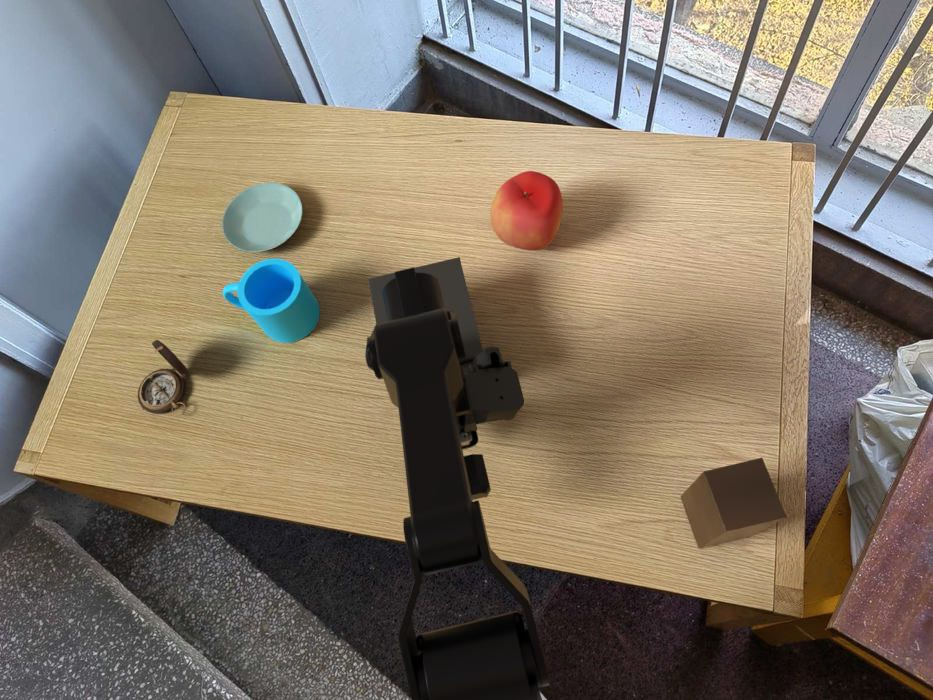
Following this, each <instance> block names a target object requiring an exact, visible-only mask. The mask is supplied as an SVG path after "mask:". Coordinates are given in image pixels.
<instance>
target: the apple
mask: <svg viewBox="0 0 933 700" xmlns="http://www.w3.org/2000/svg"><path fill="white" fill-rule="evenodd" d="M563 204H564V201H563V196H562V192H561V188H560V186H559V185H558V183H557V182H556V180H554V179H553V178H552V177H551V176H548V175H547V174H544V173H542V172H539V171H534V170H526V171H523V172H520V173H518V174H516V175H514V176H512V177H511V178H509V179H507V180H506V181H505V182H504V183H503V184H502V185H500V186H499V188H498V189H497V191H496V193H495V195H494V197H493V199H492V201H491V205H490V211H489V212H490V215H489V216H490V223H491V227H492V230H493V232H494V234H495V235H496V236H497V237H498V239H499V240H500V241H501V242H503V243H504V244H506V245H507V246H510V247H513V248H515V249H519V250H523V251H540V250H543V249H546V248H547V247H548V246H549V245H550V244H551V243H552V242H553V240H554V239H555V237H556V235H557V234H558V231H559V228H560V226H561V225H560V224H561V221H562V216H563V210H564V209H563V208H564V205H563Z"/></svg>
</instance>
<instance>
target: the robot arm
mask: <svg viewBox="0 0 933 700" xmlns="http://www.w3.org/2000/svg"><path fill="white" fill-rule="evenodd" d="M414 268H415V267H414V266H413V267H409V268H404V269H401V270H396V271H394V272H395V277H396V278H394V279H392V280H391V281H389V282H388V283H387V284H386V285H385V286H384V288H383V290H382V294H383V299H384V305H385V310H386V315H387V320H388V321H386V322H382V323H379V324H376V323H375V325H374V327H373V330H372V332H371V334H370V336H367V338H366V345H365V346H366V347H365V354H364V357H365V361H366V366H367V368H368V369H370V370H371V371H373V373H374V376H375V378H377V379H378V381H379V380H383V382H384V385H385V388H386V391H387V393H388V396H389V399H390V401H391V404H393V405H394V406H395V407H397V408H398V415H399V424H400V434H401V442H402V451H403V459H404V469H405V477H406V478H405V479H406V485H407V486H406V487H407V496H408V497H407V498H408V505H409V513H410V514H409V515H410V516H407V517H403V522H402V526H403V527H402V528H403V536H404V542H405V547H406V551H407V557H408V561H409V565H410V570H411V574H412V579H413V581H412V585H411V587H410V591H409V595H408V598H407V601H406V605H405V608H404V611H403V615H402V618H401V621H400V624H399V629H398V633H397V639H398V644H399V648H400V649H399V650H400V653H401V657H402V662H403V666H404V671H405V675H406V679H407V684H408V688H409V692H410V696H411V700H543V699H542V695H541V690H540V688H544V687H545V688H546V687H548V686H550V681H549V677H548V672H547V667H546V664H545V663H546V662H545V659H544V655H543V650H542V646H541V643H540V642H541V641H540V637H539V633H538V630H537V625H536V621H535V616H534V612H533V609H532V605H531V600H530V597H529V593H528V589H527V587H526V585H525V584H524V583H523V581H522V580H521V579H519V577H518V575H516V574H515V573H514V572H513V571H512V570H511V569H510V568H509V566H508V565H507V564H506V563H505V562H504V561H503V559H501V558H500V557H499V556H498V555H497V554H496V552H494V550H492V548H491V545H490V541H489V536H488V533H487V528H486V523H485V519H484V515H483V511H482V508H481V503H480V501H479V500H480V499H483V498H486V497H488V496H489V494H490V493H491V491H492V488H491V485H490V479H489V475H488V471H487V467H486V462H485V458H484V455H483V454H480V453H471V454H468V455H464V450H467V449H470V448H473V447H474V446H476V445H477V444H478V442H479V437H478V432H477V431H478V428H477V425H481V424H484V423H492V422H493V423H494V422H502V421H506V422H508V421H511V420H514V418H515V417H516V416H517V415H518V413H519V412H520V411H521V410H522V408H523V407H524V405H525V396H524V393H523V390H522V386H521V381H520V378H519V374H518V372H517V370H515V368H513V365H512V362H511V360H505V359H504V358H503V354H502V352H501V349H500V347H498V346H496V347H495V346H493V347H486V348H485V349H483V351H482V352H480V353H479V354H477V355H476V356H475V358H474V360H473V364H471V365H469V366H468V369H469V374H465V375H464V371H463V368H462V367H461V368H460V364H461V360H464V359H466V354H465V350H464V346H463V342H462V337H461V333H460V329H459V325H458V320H457V316H456V312H455V310H451V311H446V310H445V306H444V302H443V298H442V293H441V289H440V285H439V280H438V278H436V277H435V276H433V275H430V274H427V273H416V272H415V269H414ZM478 499H479V500H478ZM482 562H483V564H484V566H485V568H486V569H487V571H488V572H490V574H491V576H493V577H494V578H495V579H496V580H497V582H499V583H500V585H501V586H502V587H503V588H504V589H505V590H506V591H507V592H508V593H509V594H510V595H511V596H512V597H513V599H514V601H516V602H517V603H518V605H520V606H521V608H522V610H523V614H524V617H523V614H522V612H520V611H519V610H515V611H510V612H507V613H502V614H498V615H494V616H490V617H489V616H488V617H486V618H481V619H477V620H473V621H469V622H464V623H459V624H456V625H452V626H447V627H443V628H438V629H435V630H431V631H426V632H421V633H419V634H418V635H416V630H415V626H414V622H413V613H414V610H415V606H416V603H417V600H418V597H419V594H420V593H419V592H420V589H421V586H422V582H423V579H424V575H426V576H430V575H434V574H438V573H443V572H447V571H450V570H455V569H458V568H462V567H468V566H472V565H477V564H480V563H482ZM524 618H525V622H526V627H525V623H524Z"/></svg>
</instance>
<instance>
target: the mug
mask: <svg viewBox="0 0 933 700" xmlns="http://www.w3.org/2000/svg"><path fill="white" fill-rule="evenodd" d="M233 292H237V295H235V294H233ZM222 296H223V298H224V300H225V301H227V302H228V303H229V304H231V305H233V306H235V307H237V308H239V309H242V310H244V311H246V313H247V314H248V315H249V316H250V317H251V318H252V319H253V321H254V322H255V323H256V324H257V325H258V326H259V328H260V329H261V330H262V331H263V332H264V333H265V335H266V336H267V337H269V339H272V340H273V341H275V342H279V343H283V344H286V343H290V344H291V343H294V342H295V343H296V342H297V341H301V340H302V339H304V338H306V337H307V336H309V335H310V334H311V333H312V332H313V330H315V328H316V327H317V324H318V322H319V321H320V313H321V308H320V304H319V302H318V300H317V299H316V297H315V294H313V292H312V291H311V289H310V288H309V286H308V284H307V282H306V281H305V280H304V278H303V277H302V275H301V273H300V272H299V271H298V268H297V267H296V266H295V265H294V264H293V263H291V262H290V261H288V260H285V259H281V258H267V259H264V260H261V261H258V262H255V264H253V265H251V266H249V268H248V269H246V271H245V272H244V273H243V274H242V276H241V278H240V280H239V282H238V281H237V282H232V283H228V284H227V285H225V286H224V287H223V290H222Z"/></svg>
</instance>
